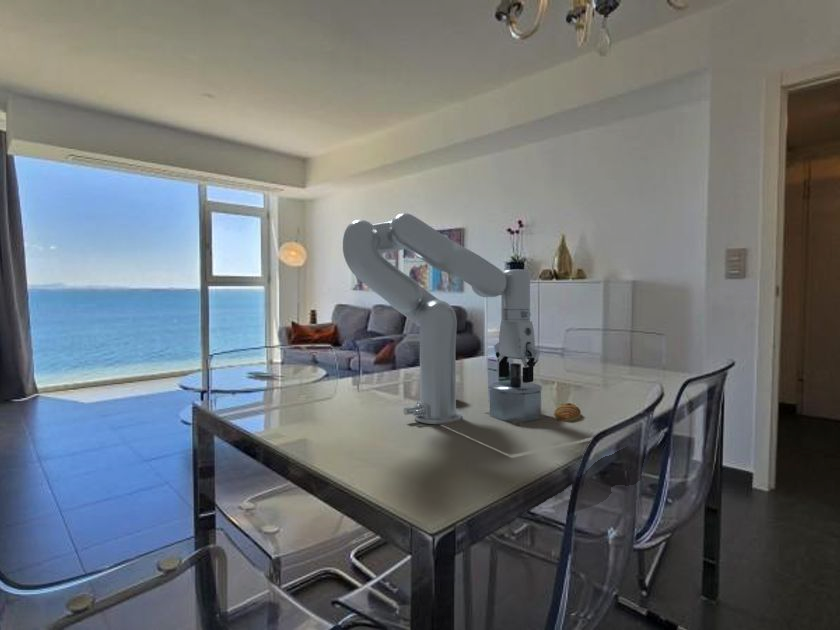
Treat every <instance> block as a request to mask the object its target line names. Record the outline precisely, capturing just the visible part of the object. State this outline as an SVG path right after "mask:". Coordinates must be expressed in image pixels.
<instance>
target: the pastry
mask: <svg viewBox="0 0 840 630" xmlns="http://www.w3.org/2000/svg"><path fill="white" fill-rule="evenodd" d="M553 415H554V417H555V419H556V420H557V421H559V422H564V423H565V422H566V423H569V422H570V423H571V422H575V421H578V420H579V419H580V418H581V415H582V413H581V409H580V408H579V407H578V406H577V405H576V404H574V403H570V402H566V403H561V404H560V405H558V406H557V408H556V409H554V412H553Z"/></svg>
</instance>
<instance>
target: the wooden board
mask: <svg viewBox="0 0 840 630" xmlns="http://www.w3.org/2000/svg"><path fill="white" fill-rule="evenodd" d="M485 415H489V416H490V411H487V412H485ZM544 418H548V416H547V415H543V414H541V419H544ZM507 422H508V423H511V424H517V423H521V422H520V421H507Z"/></svg>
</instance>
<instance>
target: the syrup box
mask: <svg viewBox="0 0 840 630" xmlns="http://www.w3.org/2000/svg"><path fill="white" fill-rule="evenodd" d="M486 358H487V359H486V361H487V363H486V364H487V366H486V367H487V402H488V403H490V385H491V384H493V383H497V382H510V364H511V363H514V358H509V359H508V361H507V362H509V376H508V377H499V363H500V362H498V361H497V359H498V358H497V357H496V355H495V356H487V357H486Z"/></svg>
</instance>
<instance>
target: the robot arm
mask: <svg viewBox="0 0 840 630" xmlns="http://www.w3.org/2000/svg"><path fill="white" fill-rule="evenodd" d="M402 250H403V251H404V250H406V251H408V252H409V253H411V254H412V255H414V256H415V257H417V258H419V259H420V260H421V261H423V262H424V263H426V264H427V265H430V267H432V268H434V269H436V270H438V271H440V272H444V273H447V274H450V275H452V276H454V277H456V278H458V279H459V280H461V281H463V282H465V283H466V284H468V285H469V286H471V289H472V292H474V293H475V294H476V295H477V296H480V297H481V298H495V297H498V296H501V298H500V299H501V301H500V303H501V305H500V307H501V312H500V313H501V321H500V325H499V332H498V333H499V335H498V343H496V344H494V345H493V349H494V352H495V356H496V357H497V358H498V359H497V361H498V362H500V363H499V377H508V376H509V362H507V361H508V359H509V358H513V360H521V363H522V364H523V367H522V382H523V383H534V368H535V367H536V364H537V363H538V361H539V357H540V355H541V351H540V350H539V349H537V348H536V340H535V330H534V324H533V321H532V320H531V315H532V313H531V274H530V272H529V270H526V269H519V268H516V269H507V270H503V271H502V270H501V269H500V268H499V267H498V266H496V265H494V264H493V263H491V262H489V260H487V259H485V258H484V257H482V256H480V255H479V254H477V253H475V252H474V251H472V250H470V249H468V248H466V247H464V246H462V245H461V244H459V243H458V242H455V241H454V240H452V239H450V238H449V237H448V236H445V235H444V234H442V233H441V232H439V231H438V230H436V229H435V228H433V227H431V226H430V225H429V224H427V223H426V222H424V221H422V219H420V218H418V217H417V216H415V215H413V214H410V213H408V212H407V213H406V212H405V213H404V212H403V213H399V214H397V215H396V216H395V217H394V218H392V220H389V221H386V222H385V221H384V222H380V223H374V224H372V223H371V222H370V221H367V220H363V219H357V220H356V219H355V220H354V221H352V222H351V223H349V224H348V225H347V227H346V228H345V230H344V233H343V238H342V252H343V257H344V260H345V263H346V265H347V267H348V269H349V270H350V272H351V273H352V274H353V275H354V276H355V277H356V278H357V279H358V280H359V281H360V282H361V283H363V284H364V285H365V286H367V287H368V288H369V289H371V290H372V291H373V292H374V293H375V294H377V295H378V296H379V297H380V298H382V299H383V300H384V301H386V302H387V303H388V304H389V305H390V306H391V307H392V308H393V309H394V310H396V311H397V312H399V313H400V314H402V315H403V316H404V317H406V318H407V319H408V320H410V321H411V322H412V323H413V324H415V325H417V326H418V327H419V390H420V391H419V396H420V399H419V401H416V404H415V405H413V406H409V407H408V406H407V407H406V406H405V407H404V408H403V414H404V416H409V415H412V416H414V420H415V421H416V422H419V423H421V424H427V425H442V424H447V423H454V422H457V421H460V420H462V417H463V414H462V413H461V412H459V411H458V410H457V399H456V396H457V395H456V393H457V391H456V390H457V386H456V385H457V383H456V382H457V381H456V374H457V372H456V369H457V368H456V366H457V365H456V346H457V345H456V344H457V343H456V342H457V326H458V325H457V324H458V321H457V315H456V311H455V309H454V308H453V306H451V304H450V303H449V302H446V301H443V300H440V299H439V298H437V297H436V296H435V295H433V294H432V293H431V292H429V291H428V290H426V289H425V288H424V287H422V286H421V285H420V283H419V282H418V281H417V280H415V279H414V278H413V277H410V276H409V275H407V274H406V273H404V272H403V271H401V270H400V269H398V268H397V267H396V266H394V265H393V264H392V263H391V262H390V261H388V260H387V259H386V258H384V257H383V256H382V255H381V254H386V253H394V252H397V251H402Z"/></svg>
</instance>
